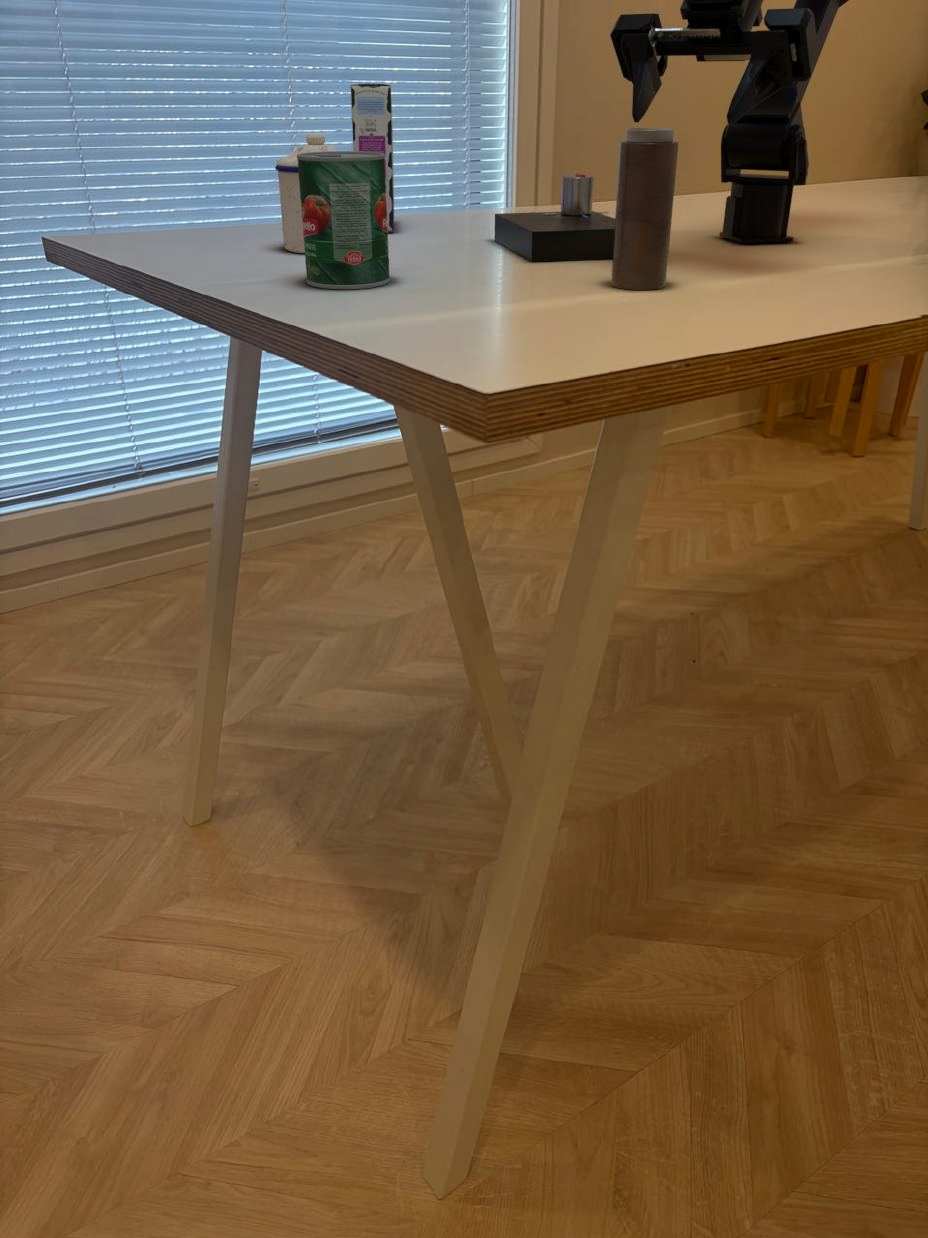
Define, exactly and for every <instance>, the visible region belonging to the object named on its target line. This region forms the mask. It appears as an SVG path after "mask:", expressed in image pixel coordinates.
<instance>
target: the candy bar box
mask: <svg viewBox="0 0 928 1238" xmlns="http://www.w3.org/2000/svg"><path fill="white" fill-rule="evenodd" d="M349 88H350V105H351V106H350V107H351V110H350V111H351V123H352V124H351V125H352V126H351V130H352V151H363V152H379V153H384V154H385V175H386V179H385V182H386V203H387V223H388V225H387V230H388V233H394V231H395V191H394V189H395V183H394V181H395V180H394V176H395V175H394V173H395V172H394V135H393V132H394V131H393V103H392V86H391V84H387V83H352V84H350V87H349Z"/></svg>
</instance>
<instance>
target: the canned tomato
mask: <svg viewBox="0 0 928 1238" xmlns="http://www.w3.org/2000/svg"><path fill="white" fill-rule="evenodd" d="M297 159H298V171H299V183H300V187H299V188H300V198H301V209H302V221H303V225H302V226H303V236H304V247H305V253H304V259H305V262H304V263H305V270H306V284H307V285H309V286H311V287H315V288H319V289H329V290H361V289H362V290H363V289H371V288H378V287H382V286H385V285H387V284H389V283H390V282H391V277H390V255H389V252H390V251H389V232H388V230H387V225H388V223H387V203H386V182H385V179H386V175H385V154H384V153H379V152H363V151H353V150H347V151H346V150H339V151H327V152H308V153H300V154H297Z"/></svg>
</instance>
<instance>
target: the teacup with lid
mask: <svg viewBox="0 0 928 1238" xmlns="http://www.w3.org/2000/svg"><path fill="white" fill-rule="evenodd" d="M305 142H306V144H303V145H300V146H298V147H297V148H296V149H294V150H293V151H292V152H291V153H289V154H288V155H286V156H283V157H281V158H278V159H277V161H276V163H275V164H276V165H275V167H274V168H275V170H276V171H277V177H278V178H277V179H278V188H279V189H278V191H279V201H280V213H281V224H282V238H283V247H284V249H286V250H287V251H289V252H292V253H297V254H305V247H304V236H303V226H302V225H303V221H302V209H301V198H300V188H299V187H300V183H299V171H298V159H297V154H300V153H308V152H327V151H340V150H339V149H338V148H337V147H335V146H333V145H331V144H325V143H326V137H325V135H324V133H323V134H322V133H309V134H307V135H306V137H305Z"/></svg>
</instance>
